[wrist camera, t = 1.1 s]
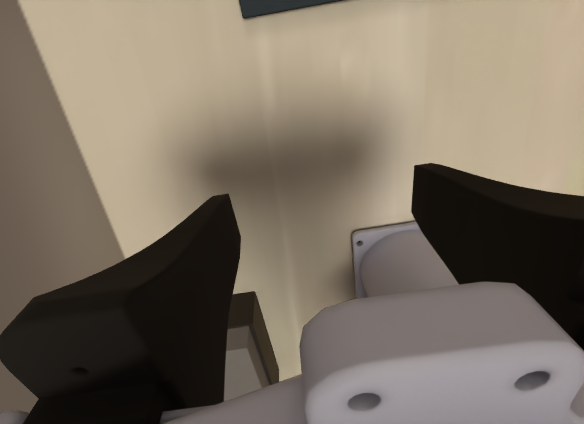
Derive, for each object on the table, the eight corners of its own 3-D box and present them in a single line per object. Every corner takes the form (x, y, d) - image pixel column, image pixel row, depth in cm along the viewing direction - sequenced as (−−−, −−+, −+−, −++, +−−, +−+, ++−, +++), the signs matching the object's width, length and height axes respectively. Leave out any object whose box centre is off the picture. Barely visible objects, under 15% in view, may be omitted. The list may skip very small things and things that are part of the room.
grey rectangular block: (279, 369, 33) (279, 426, 28) (239, 375, 33) (233, 432, 29) (254, 291, 27) (250, 346, 22) (206, 298, 27) (192, 355, 22)
